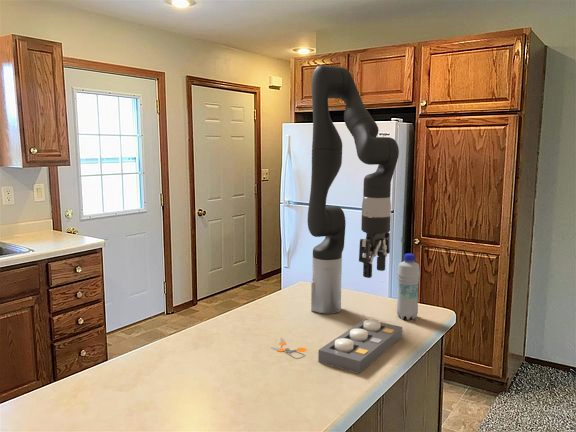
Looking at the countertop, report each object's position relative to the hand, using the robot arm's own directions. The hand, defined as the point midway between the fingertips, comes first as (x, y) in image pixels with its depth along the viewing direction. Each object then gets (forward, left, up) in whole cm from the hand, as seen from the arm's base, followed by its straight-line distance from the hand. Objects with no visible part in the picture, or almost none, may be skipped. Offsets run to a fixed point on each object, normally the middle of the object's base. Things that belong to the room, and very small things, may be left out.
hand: (374, 273), depth 128 cm
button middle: (-4, -7, -16) cm, 18 cm away
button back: (0, 0, -16) cm, 16 cm away
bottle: (+11, +18, -18) cm, 28 cm away
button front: (-7, -14, -16) cm, 22 cm away
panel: (-2, -8, -18) cm, 20 cm away
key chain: (-22, -11, -19) cm, 30 cm away
